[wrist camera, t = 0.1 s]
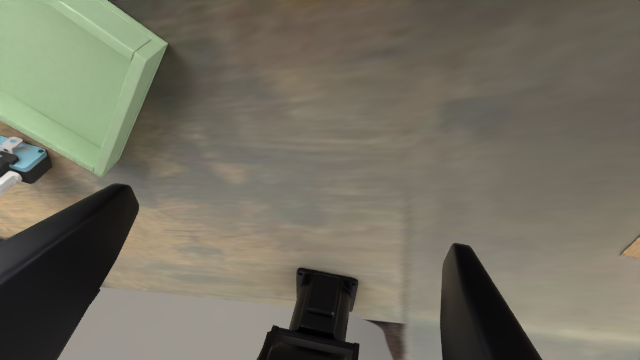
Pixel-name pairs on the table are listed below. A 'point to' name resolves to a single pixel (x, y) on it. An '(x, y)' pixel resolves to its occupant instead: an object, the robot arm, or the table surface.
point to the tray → (75, 76)
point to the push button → (20, 162)
